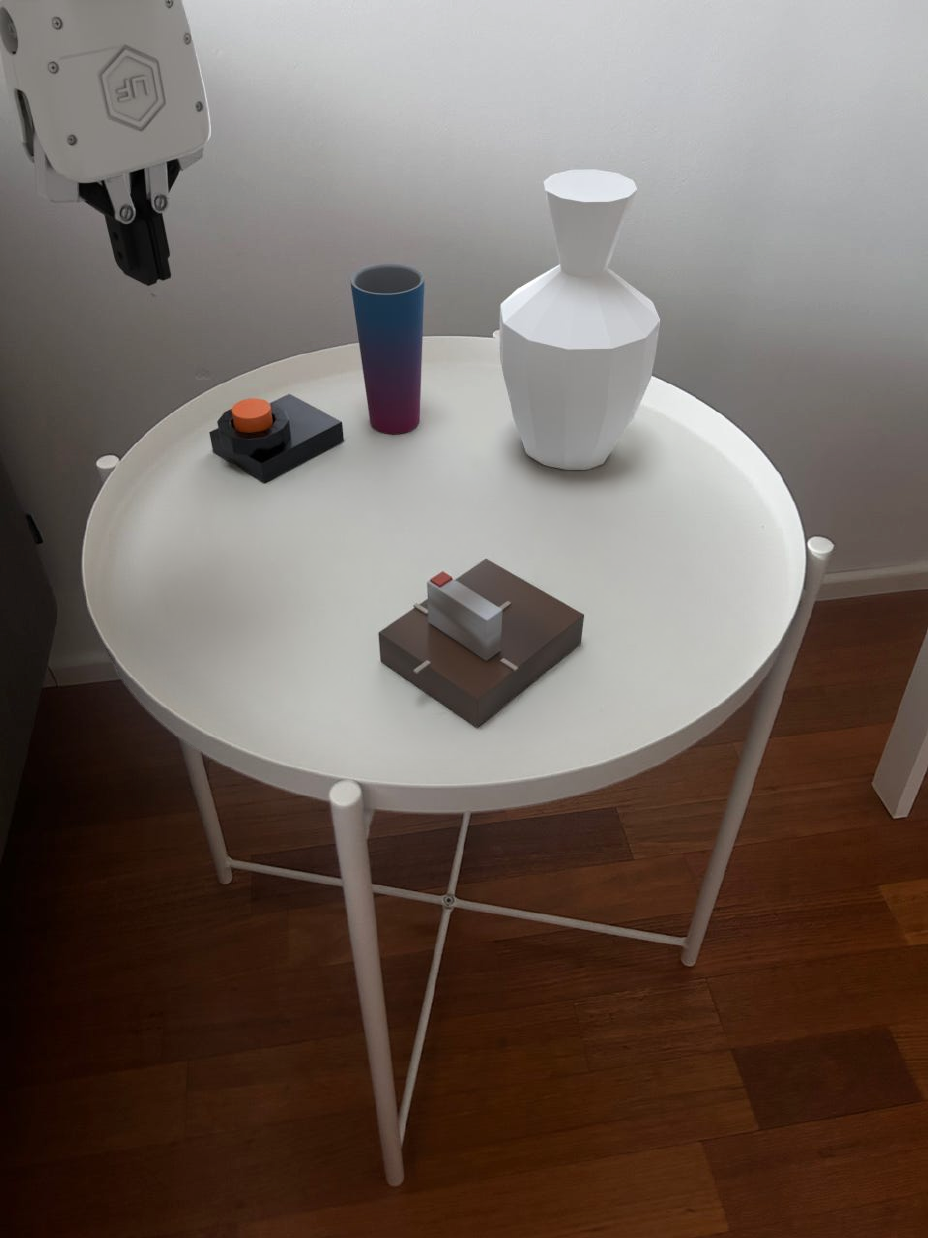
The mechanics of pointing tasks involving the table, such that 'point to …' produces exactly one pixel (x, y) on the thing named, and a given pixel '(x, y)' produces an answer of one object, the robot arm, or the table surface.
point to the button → (252, 415)
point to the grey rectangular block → (464, 615)
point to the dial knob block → (462, 678)
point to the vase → (578, 330)
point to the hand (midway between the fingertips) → (146, 275)
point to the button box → (278, 439)
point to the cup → (390, 342)
